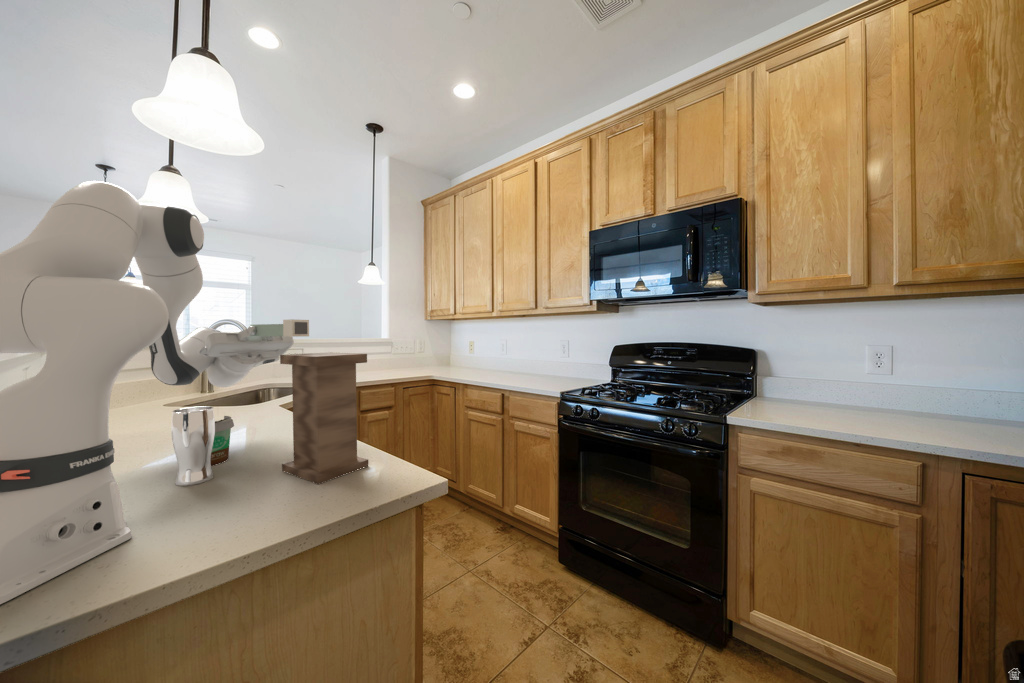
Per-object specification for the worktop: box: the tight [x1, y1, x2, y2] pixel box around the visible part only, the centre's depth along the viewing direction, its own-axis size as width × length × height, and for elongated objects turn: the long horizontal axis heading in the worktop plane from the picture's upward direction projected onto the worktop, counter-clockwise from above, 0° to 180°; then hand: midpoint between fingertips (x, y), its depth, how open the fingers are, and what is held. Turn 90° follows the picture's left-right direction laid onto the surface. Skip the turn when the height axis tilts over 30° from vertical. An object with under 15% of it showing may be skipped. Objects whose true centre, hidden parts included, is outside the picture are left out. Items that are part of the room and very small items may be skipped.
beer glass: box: [170, 405, 215, 487], centre depth 78 cm, size 7×7×15 cm
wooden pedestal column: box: [279, 351, 369, 485], centre depth 85 cm, size 14×12×26 cm
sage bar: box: [249, 318, 310, 338], centre depth 95 cm, size 22×4×4 cm, turn 58°
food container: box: [211, 415, 235, 467], centre depth 89 cm, size 12×6×10 cm, turn 168°
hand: (263, 328), depth 99 cm, fingers closed on sage bar, 3 cm apart
